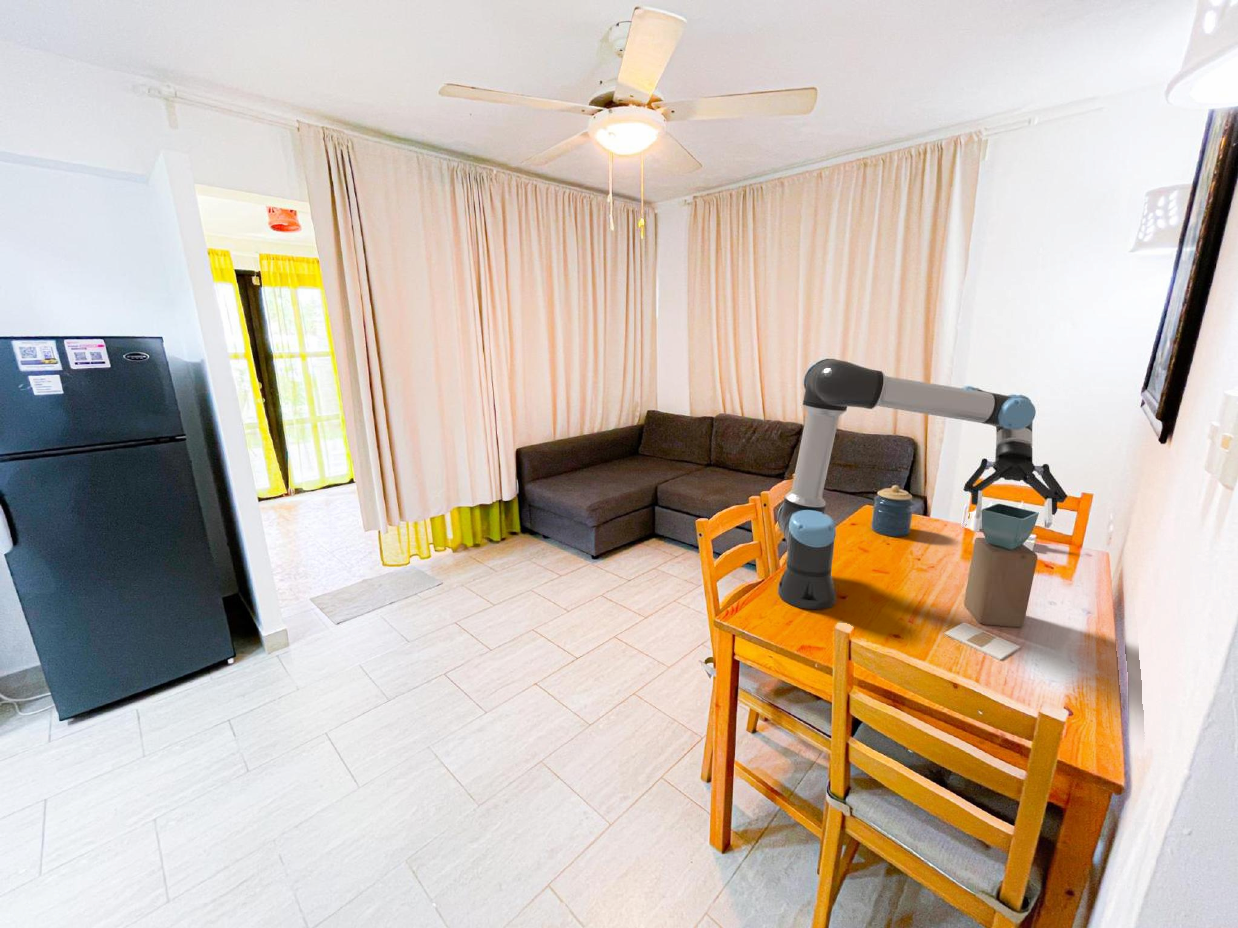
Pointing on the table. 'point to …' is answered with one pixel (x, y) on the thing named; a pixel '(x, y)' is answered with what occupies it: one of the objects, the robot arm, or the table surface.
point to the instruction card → (982, 640)
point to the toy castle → (976, 524)
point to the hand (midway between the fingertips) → (1012, 520)
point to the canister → (892, 512)
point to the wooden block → (999, 583)
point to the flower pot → (1007, 525)
